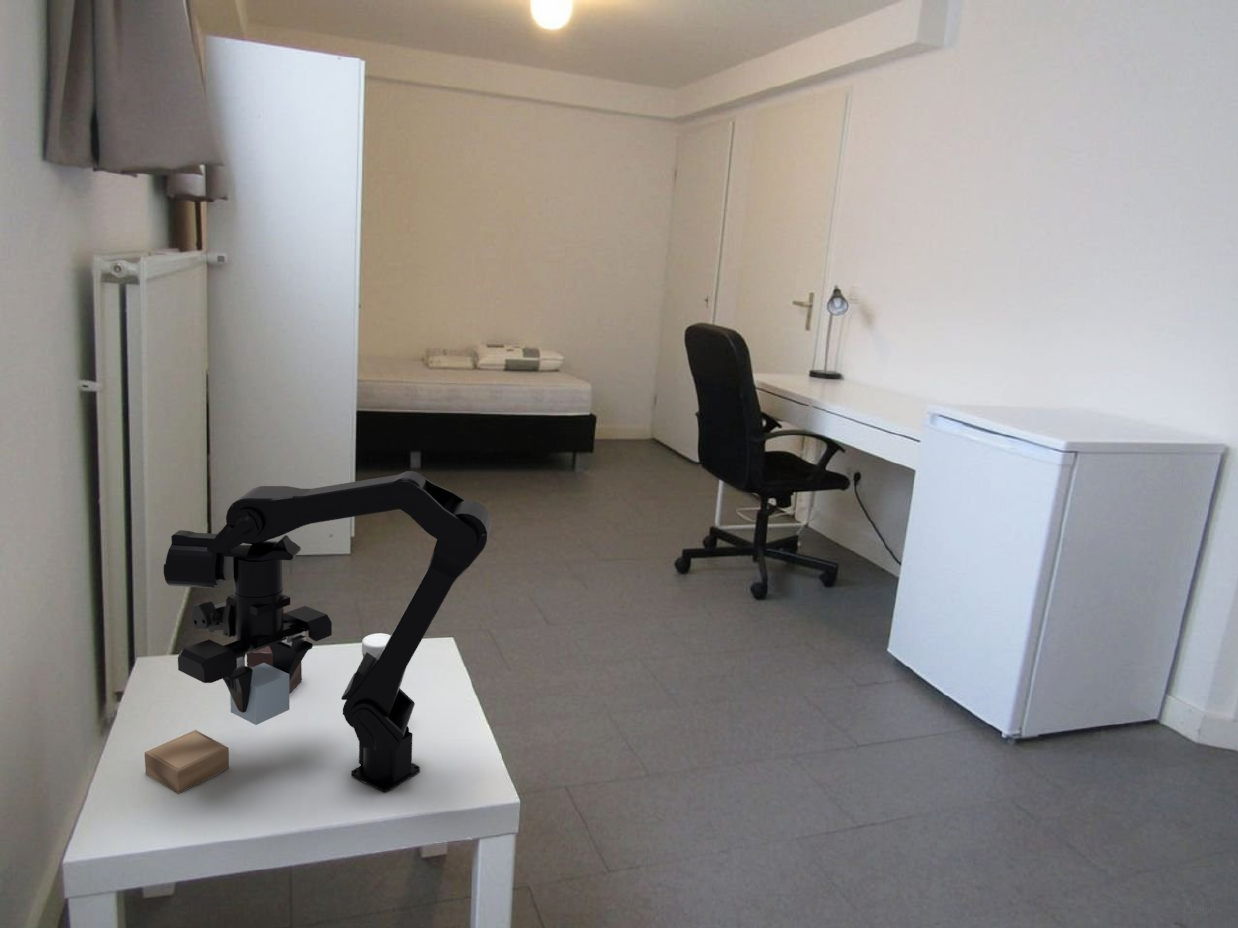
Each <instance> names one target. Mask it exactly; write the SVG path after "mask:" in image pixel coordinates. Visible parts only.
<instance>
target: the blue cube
mask: <svg viewBox="0 0 1238 928" xmlns="http://www.w3.org/2000/svg"><path fill="white" fill-rule="evenodd" d="M251 669H253V672H252V680H251V687H250V694H249V702H248V706H247V710H246V712H244V713H242V712H240V711H239V710H238V709H237V707H236V705H235V702H234V700H233V698H232V696H231V694H230V693H229V695H230V701H229V702H230V713H231V714H234V715H235V716H238V717H239V718H242V719H243V720H245V721H247V722H249V723H250V724H253V725H255V726H258V725H259V724H261V723H263V722H265V721H268V720H271V719H272V718H275V717H277V716H278V715H280V714H284V713H286V712H287V711H289V710H290V693H289V674H288V673H285V672H283V671H281V670H279V669H277V668H274V667H272V666H270V665H268V664H266V663H262V664H260V665H257V666H255V667H252V668H251Z"/></svg>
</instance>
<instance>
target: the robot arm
mask: <svg viewBox="0 0 1238 928" xmlns="http://www.w3.org/2000/svg"><path fill="white" fill-rule="evenodd" d="M397 510H400V511H402V512H403V513H405V514H407V516H409V517H411V519H412V520H413V521H414V522H416V523H417V525H419V527H420V528H421V529H423V531H425V532H426V533H427V534H429V535H430V536H431V537H433V538H434V539H436V541H435V545H434V549H433V551H432V555H431V558H430V562H429V564H428V567H427V569H426V571H425V573H424V575H423V576H422V578H421V580H420V582H419V584H418V585H417V587H416V589H415V591H414V593H413V595H412V597H411V599H410V600H409V602H408V603H407V605H406V607H405V609H404V611H403V612H402V615H401V617H400V618H399V619H398V622H397V624H396V626H395V628H394V629H393V631H392V633H391V636H390V638H389V640H388V642H387V644H386V645H385V647H384V649H383V650H382V651H381V652H380V653H379V654H378V655H377V656H376V657H373V656H372V655H370V654H369V653H368V652H366V654H365V655H364V657H363V656H362V659H361V661H360V663H359V665H358V667H357V669H356V671H355V672H354V673H353V675H352V677H351V679H349V683H348V685H347V686H346V689H344V692H343V694H342V696H341V700H342V701H345V703H344V705H343V708H342V715H343V717H344V719H345V721H346V722H347V723H348V725H349V726H350V727H351V728H353V730H354V733H355V734H356V737H357V740H358V764H359V766H357V767H355V768H354V769H352V770H351V771H350V775H351V777H353V778H355V779H357V780H359V781H361V782H363V783H365V784H367V785H369V786H371V787H373V788H375V789H377V790H379V791H381V792H383V793H388V792H390V790H392V789H394V788H395V787H397V786H399V785H400V784H402V783H403V782H405V781H407V780H408V779H410V778H411V777H413V776H414V775H416V774H417V773H419V772H420V770H421V767H420V766H419V765H417V764H416V763H413V733H412V732H410V728H409V726H408V724H409V722H410V719H411V717H412V713H413V710H414V707H415V704H416V703H415V701H414V700H413V699H412V698H411V697H409V695H407V694H406V692H404V691H403V690H402V689H401V685H402V682H403V679H404V676H405V672H406V669H407V667H408V666H409V663H410V661H411V659H413V656H414V654H415V652H416V651H417V649H418V647H419V645H420V643H421V642H422V641H423V638H424V636H425V635H426V633H427V631H428V629H429V627H430V625H431V624H432V621H434V619H435V617H436V615H437V613H438V611H439V610H440V608H441V606H442V604H443V602H444V601H445V599H446V597H447V596H448V594H449V592H450V590H451V588H452V587H453V584H454V583H455V582H456V581H457V580H458V579H459V577H461V576H462V575H463V573H464V572H466V571H467V570H468V569H469V567H471V565H473V563H474V562H475V560H476V559H477V558H478V557H479V556H480V554H481V553H482V552H483V551H484V549H485V547H486V545H487V542H488V538H489V536H490V535H489V534H490V532H491V527H492V522H493V519H492V516H491V514H490V512H489V511H488V509H487V507H486V506H485V505H483V504H482V503H480V502H478V501H476V500H470V499H469V500H468V499H464V498H463V497H462V496H460V495H458V494H457V493H456V492H454V491H452V490H451V489H448V488H445V487H444V486H442V485H439V484H437V483H435V482H432V481H431V480H429V479H427V477H424V476H423V475H422V474H420V473H419V472H417V471H414V470H411V471H410V470H407V471H404V472H402V473H399V474H394V475H388V476H383V477H382V476H381V477H377V478H370V479H363V480H362V479H361V480H358V481H350V482H345V483H339V484H333V485H326V486H320V487H313V488H301V487H294V486H289V485H288V486H287V485H260V486H256V487H255V488H252V489H250V490H249V491H248V492H246V493H245V494H244V495H242V496H241V497H239V498H238V499H237V500H235V501H234V502H233V503H231V505H230V506H229V507H228V509H227V511H226V516H225V522H226V524H225V525H224V526H223V527H222V529H221V530H220V531H219V532H218V533H207V532H194V531H192V530H183V529H180V530H178V531H176V532H175V533H173V534H172V535H171V540H170V541H171V544H170V546H169V548H168V550H167V554H166V557H165V558H166V559H165V563H164V564H163V576H164V577H163V578H164V580H165V582H166V584H167V585H168V586H169V587H170V586H171V587H187V588H188V587H190V588H204V589H205V588H206V589H207V588H208V589H210V588H211V589H219V588H221V587H222V585H223V584H224V582H225V581H229V580H231V578H232V576H233V593H232V594H230V595H227V598H226V599H225V601H224V602H220V603H217V604H214V603H213V601H212V600H211V601H210V600H209V601H205V602H200V603H196V604H193V605H192V617H191V618H192V619H191V620H192V622H193V623H192V624H193V626H194V628H195V629H196V630H198V631H200V630H206V629H207V631H208V634H209V633H211V634H212V633H214V632H215V631H222V635H224V636H225V637H227V638H231V637H234V641H233V642H229V643H228V644H224V645H223V644H221V643H219V642H217V641H214V640H211V639H209V638H208V639H206V640H204V641H201V642H197V643H195V644H192V645H188V646H186V647H183V649H181V650H180V652H179V653H178V655H177V668H178V669H177V670H178V671H179V672H181V673H183V674H186V675H187V676H189V677H192V678H193V679H196V680H197V681H199V682H201V683H203V684H212V683H215V682H218V681H221V680H223V682H224V684H225V686H226V687H227V690H228V692H229V695H230V694H231V696H232V698H233V700H234V702H235V705H236V707H237V709H238V710H239V711H240V712H242V713H244V712H246V710H247V706H248V702H249V694H250V687H251V680H252V672H253V669H251V668H249V667H247V665H246V660H245V659H246V656H247V655H246V654H249V653H252V652H254V651H257V650H259V649H262V648H265V647H267V646H269V647H270V649H271V652H272V656H273V667H274V668H277V669H279V670H281V671H283V672H285V673H288V674H289V682H290V680H291V678H292V676H293V674H294V672H295V670H296V669H297V667H298V665H299V664H300V662H301V663H302V661H303V659H304V658H305V656H306V654H307V653H308V651H309V650H312V649H313V646H314V644H313V643H312V642H310V641H308V640H307V638H306V637H307V636H306V632H307V634H308V638H310V639H311V640H312V641H314V642H319V641H322V640H324V639H326V638H328V637H331V636H332V635H333V621H332V619H331V617H330V616H329V614H327V613H324V612H322V611H319V610H317V609H314V608H313V607H312V608H311V607H309V606H306V605H304V606H300V607H298V608H295V609H292V610H289V611H286V612H285V611H284V607H288V606H291V597H290V596H289V595H285V594H284V561H293V559H295V557H296V556H297V555H298V554H299V553H300V552H301V550H302V548H301V546H300V545H298V544H297V543H296V542H294V541H293V540H292V539H291V538H290V537H289V535H287V534H288V533H291V532H293V531H296V530H297V529H299V528H302V527H304V526H307V525H310V524H317V523H323V522H330V521H335V520H342V519H348V518H355V517H361V516H366V515H373V514H374V515H375V514H378V513H379V514H380V513H385V512H386V513H387V512H391V511H397ZM283 535H284V536H283ZM281 536H282V538H281V539H279V540H278V541H277V540H273V539H275V538H279V537H281Z"/></svg>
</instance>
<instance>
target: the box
mask: <svg viewBox="0 0 1238 928" xmlns="http://www.w3.org/2000/svg"><path fill="white" fill-rule="evenodd" d="M245 656H246V666H247V667H249V668H252V667H255V666H257V665H260V664H262V663H266V664H268V665H270V666H272V667H273V656H272V652H271V649H270V647H269V646H267V647H265V648H262V649H259V650H257V651H254V652H252V653H249V654H246V655H245ZM302 670H303V669H302V661H301V662H300V664H299V665H298V667H297V669H296V670H295V672H294V674H293V676H292V678H291V680H290V682H289V694H291V692H293V690H294V689H295V688H296V687H297V686H298V685H299V684H300V683H301V682H302V680H303V678H302V677H303V676H302Z"/></svg>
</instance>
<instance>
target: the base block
mask: <svg viewBox="0 0 1238 928" xmlns="http://www.w3.org/2000/svg"><path fill="white" fill-rule="evenodd" d="M229 751H230V750H229V747H228V746H226V745H225V744H223V743H220V742H219V741H217V740H215V739H213V738H211V737H210V736H207V735H206V734H204V733H202V732H200V731H198V730H197V729H193V730H192V731H190V732H188V733H185V734H183V735H181V736H179V737H175V738H173V739H171V740H169V741H167V742H165V743H163V744H160V745H158V746H156V747H153V748H151V749H148V750H146V751H145V752H144V766H145V767H144V768H145V770H144V771H145V774H146V775H148V776H149V777H151V778H153V779H154V780H155V781H158V782H159V783H161V784H162V785H164V786H166V787H167V788H168V789H170V790H172V791H173V792H176V793H177V794H180V793H182V792H185V791H186V790H188V789H190V788H193V787H194V786H196V785H199V784H201V783H202V782H205V781H206V780H209V779H211V778H212V777H215V776H216V775H218V774H221V773H223V772H226V770H227V771H228V770H229V769H230V753H229Z"/></svg>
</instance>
